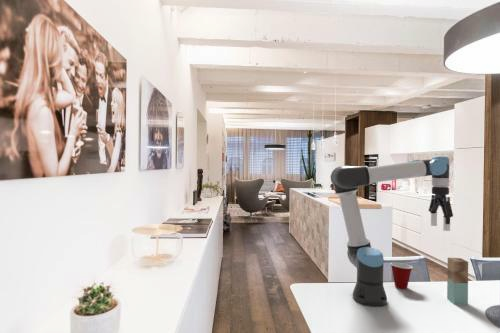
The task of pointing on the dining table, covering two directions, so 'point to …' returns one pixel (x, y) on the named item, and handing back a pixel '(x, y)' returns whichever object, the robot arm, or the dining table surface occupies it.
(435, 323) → the dining table surface
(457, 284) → the teal block
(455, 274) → the walnut block
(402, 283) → the plastic cup
